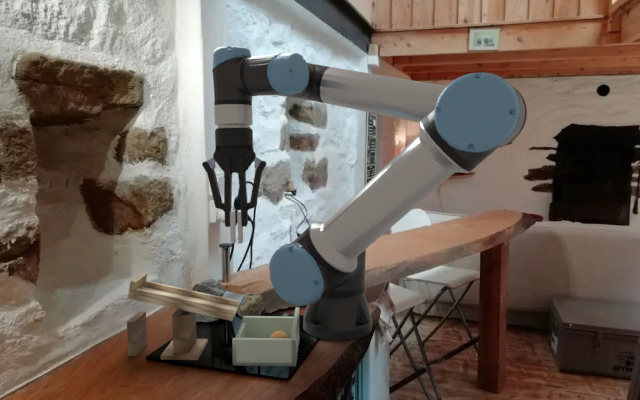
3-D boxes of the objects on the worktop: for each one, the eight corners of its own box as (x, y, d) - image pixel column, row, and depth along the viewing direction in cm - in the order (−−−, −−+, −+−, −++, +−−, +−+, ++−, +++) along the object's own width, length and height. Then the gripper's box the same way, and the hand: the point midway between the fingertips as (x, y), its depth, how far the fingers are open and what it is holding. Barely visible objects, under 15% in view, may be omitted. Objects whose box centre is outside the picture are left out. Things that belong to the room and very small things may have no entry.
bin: (299, 339, 104) (299, 307, 103) (295, 366, 92) (295, 329, 91) (243, 339, 104) (243, 306, 103) (232, 365, 92) (232, 328, 91)
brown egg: (268, 330, 99) (273, 347, 100) (266, 337, 96) (271, 355, 96) (286, 325, 99) (291, 342, 100) (284, 333, 96) (289, 350, 96)
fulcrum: (208, 342, 102) (207, 303, 101) (197, 360, 94) (196, 318, 93) (141, 341, 102) (139, 302, 101) (125, 359, 95) (124, 317, 93)
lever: (242, 303, 107) (246, 283, 107) (230, 328, 93) (234, 305, 93) (150, 283, 107) (154, 263, 106) (124, 305, 93) (128, 282, 93)
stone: (193, 281, 110) (222, 269, 119) (168, 303, 115) (199, 291, 123) (216, 318, 108) (244, 303, 117) (190, 339, 113) (220, 324, 121)
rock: (271, 315, 119) (271, 297, 118) (240, 321, 115) (239, 302, 114) (260, 306, 125) (260, 288, 124) (230, 311, 121) (229, 293, 120)
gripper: (269, 127, 105) (271, 238, 108) (202, 127, 105) (206, 239, 108) (267, 126, 98) (269, 245, 101) (195, 126, 97) (199, 246, 100)
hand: (237, 242), depth 104 cm, fingers closed
